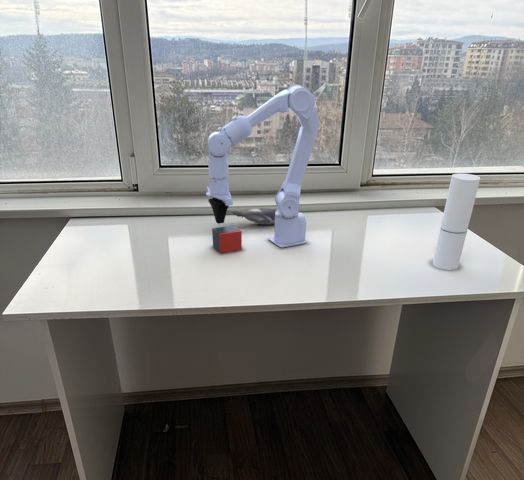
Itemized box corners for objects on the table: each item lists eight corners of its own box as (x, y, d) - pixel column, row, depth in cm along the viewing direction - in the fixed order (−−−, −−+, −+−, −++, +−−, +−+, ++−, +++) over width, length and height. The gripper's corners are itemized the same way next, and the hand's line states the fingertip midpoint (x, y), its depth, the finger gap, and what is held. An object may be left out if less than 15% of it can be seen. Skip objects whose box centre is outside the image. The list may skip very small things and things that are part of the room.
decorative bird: (291, 226, 170) (292, 211, 167) (219, 228, 167) (218, 214, 164) (287, 220, 175) (288, 206, 173) (217, 222, 172) (217, 208, 169)
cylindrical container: (458, 262, 146) (480, 175, 132) (458, 271, 140) (480, 181, 127) (433, 258, 148) (452, 172, 134) (431, 267, 142) (451, 178, 128)
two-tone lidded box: (233, 225, 152) (241, 231, 148) (233, 243, 155) (241, 250, 151) (212, 228, 149) (220, 234, 145) (212, 247, 152) (220, 253, 148)
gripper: (196, 172, 148) (198, 217, 155) (216, 184, 137) (217, 231, 145) (218, 170, 151) (219, 214, 158) (239, 181, 140) (239, 228, 147)
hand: (220, 222), depth 152 cm, fingers closed
